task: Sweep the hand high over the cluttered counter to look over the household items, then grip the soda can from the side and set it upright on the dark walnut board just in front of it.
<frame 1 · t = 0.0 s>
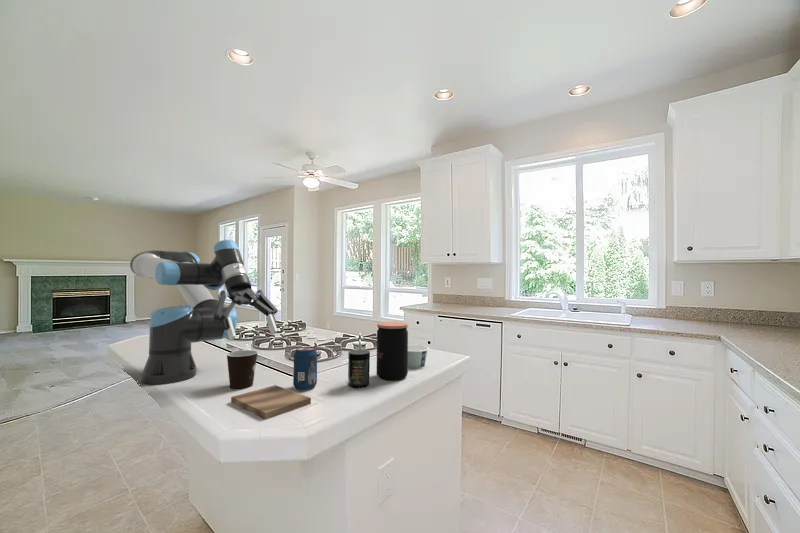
hand: (254, 335, 106), 15 cm above the counter, tool tilted 35°, fingers open, 13 cm apart
walnut board: (270, 403, 91), on the counter
coffee mug: (244, 385, 106), on the counter
soda can: (305, 388, 103), on the counter
food container: (413, 365, 132), on the counter
coffee jar: (392, 377, 116), on the counter
supplement container: (358, 386, 106), on the counter
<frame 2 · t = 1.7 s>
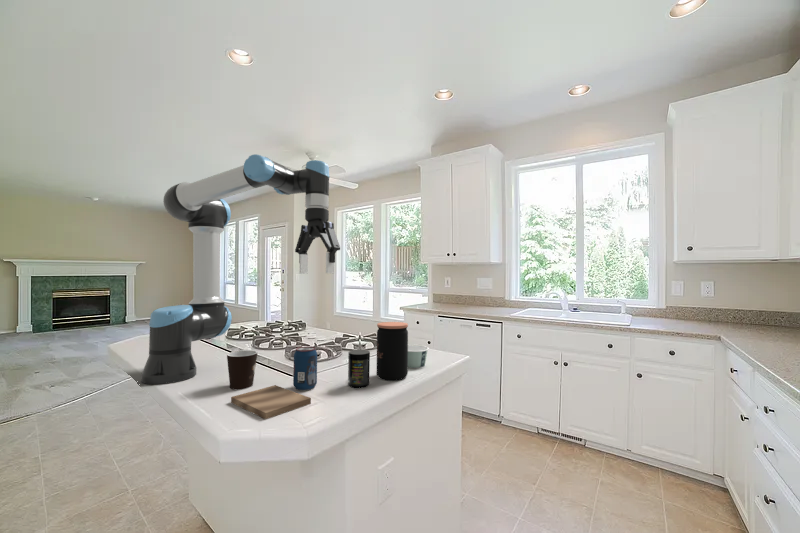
hand: (316, 273, 111), 35 cm above the counter, tool pointing down, fingers open, 13 cm apart
nothing on the counter moved.
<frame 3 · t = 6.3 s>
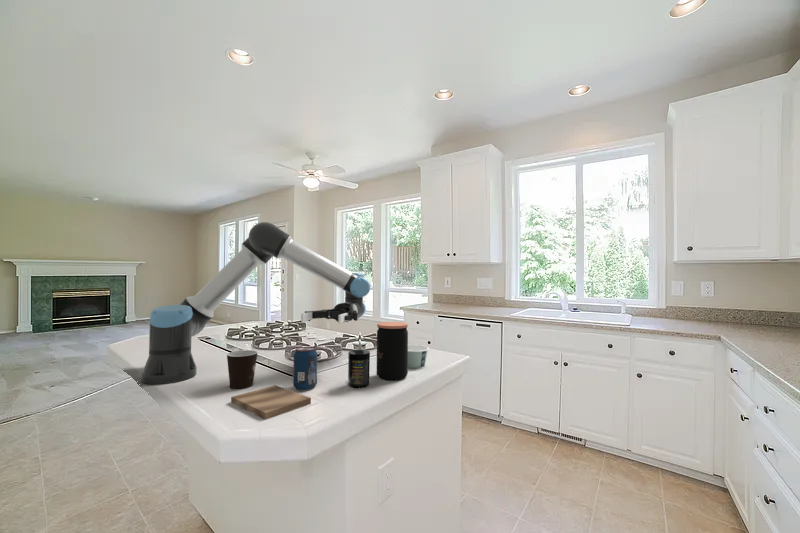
hand: (320, 318, 113), 20 cm above the counter, tool horizontal, fingers open, 13 cm apart
nothing on the counter moved.
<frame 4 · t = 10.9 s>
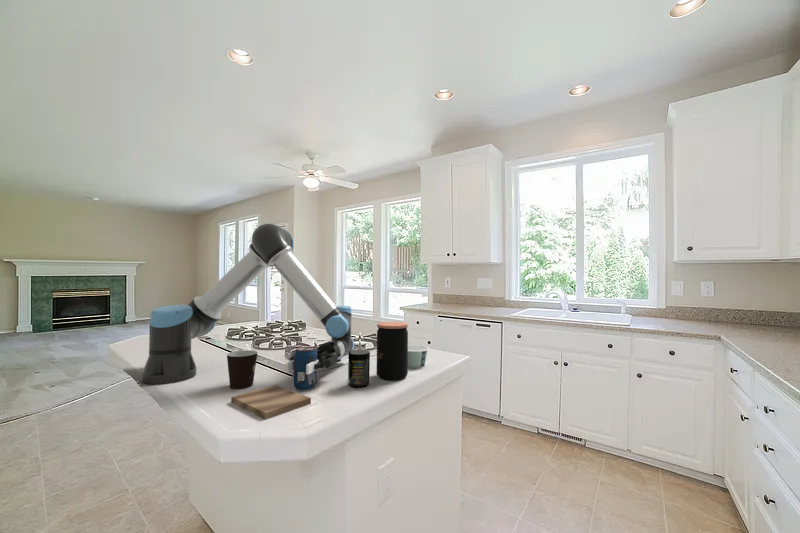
hand: (296, 368, 99), 7 cm above the counter, tool horizontal, fingers closed on soda can, 6 cm apart
soda can: (305, 388, 103), on the counter, touching gripper
everything else where it was.
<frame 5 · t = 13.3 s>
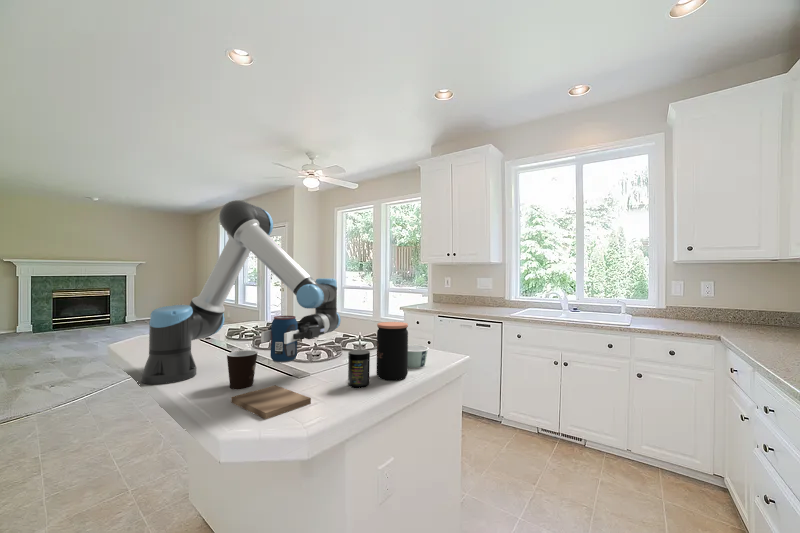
hand: (273, 338, 89), 18 cm above the counter, tool horizontal, fingers closed on soda can, 6 cm apart
soda can: (283, 360, 94), point 10 cm above the counter, touching gripper
everything else where it was.
when the fingers open (10 cm above the counter, at t = 15.9 s): soda can drops 1 cm, resting on walnut board.
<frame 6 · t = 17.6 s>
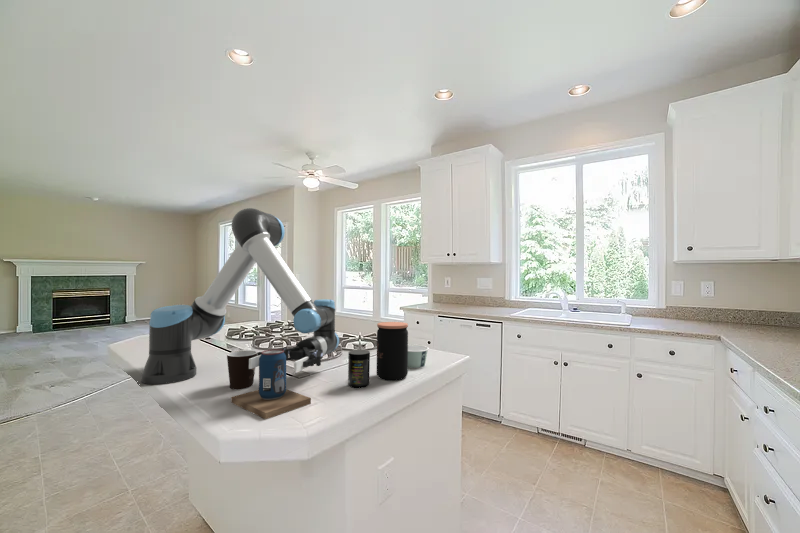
hand: (272, 365, 90), 10 cm above the counter, tool horizontal, fingers open, 13 cm apart
soda can: (272, 396, 91), point 1 cm above the counter, touching walnut board
everything else where it was.
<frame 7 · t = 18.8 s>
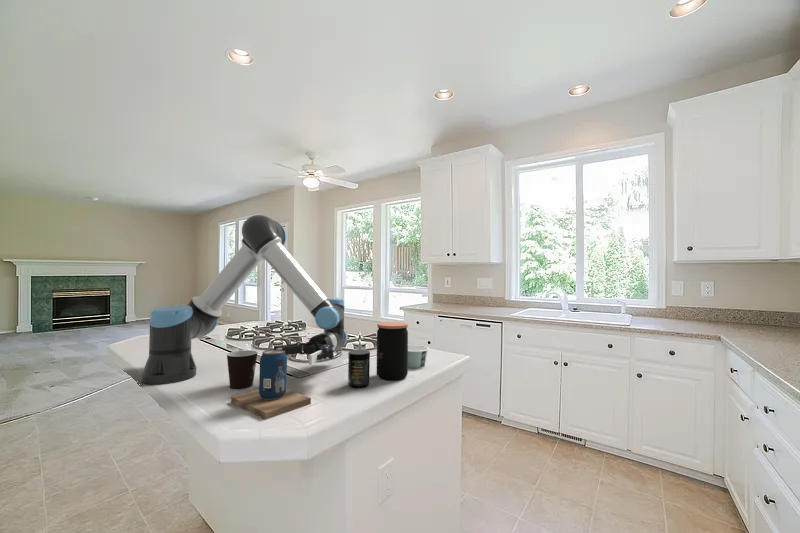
hand: (289, 358, 99), 10 cm above the counter, tool horizontal, fingers open, 13 cm apart
nothing on the counter moved.
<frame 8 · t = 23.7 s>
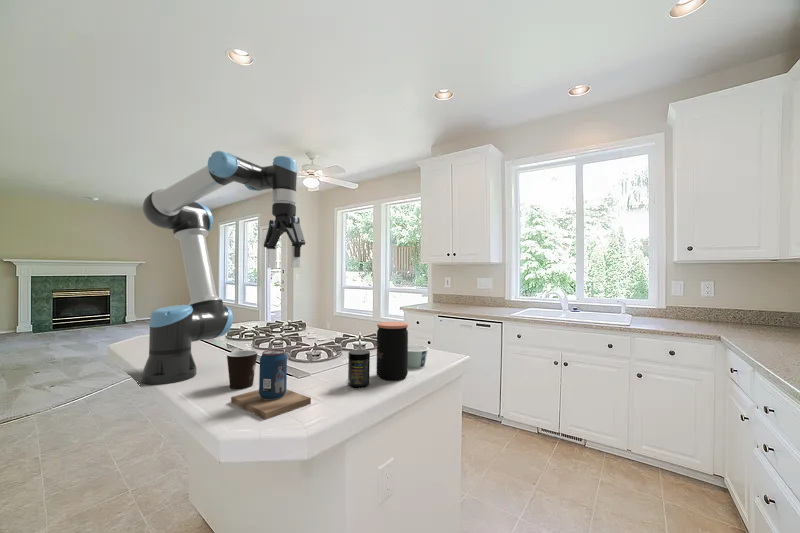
hand: (283, 267, 113), 37 cm above the counter, tool pointing down, fingers open, 13 cm apart
nothing on the counter moved.
at the end: soda can inside the target area on the walnut board (0.4 cm from its centre), point 1.3 cm above the walnut board's base; soda can tilted 0°; the gripper is holding nothing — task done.
